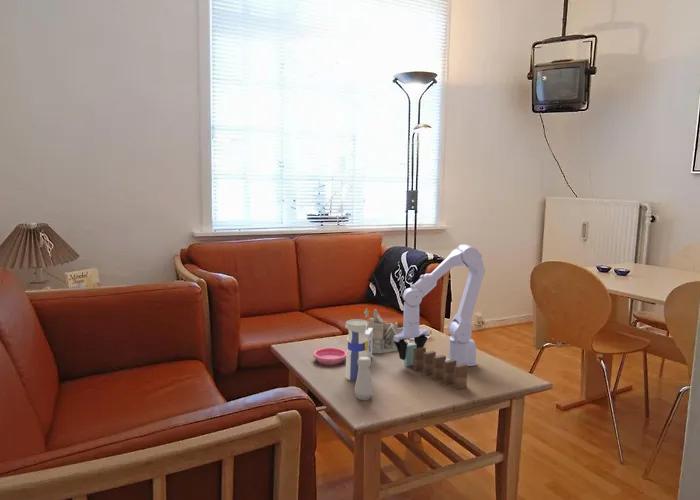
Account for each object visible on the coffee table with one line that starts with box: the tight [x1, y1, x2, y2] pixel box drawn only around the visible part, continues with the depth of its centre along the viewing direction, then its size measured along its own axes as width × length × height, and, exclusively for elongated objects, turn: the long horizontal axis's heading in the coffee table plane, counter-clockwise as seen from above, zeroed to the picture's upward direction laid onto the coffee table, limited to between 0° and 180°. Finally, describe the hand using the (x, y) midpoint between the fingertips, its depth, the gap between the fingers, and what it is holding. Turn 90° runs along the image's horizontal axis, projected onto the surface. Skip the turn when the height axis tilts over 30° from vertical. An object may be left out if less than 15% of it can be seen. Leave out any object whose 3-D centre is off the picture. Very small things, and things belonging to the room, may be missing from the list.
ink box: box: [365, 328, 373, 360], centre depth 199 cm, size 9×5×12 cm, turn 168°
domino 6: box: [453, 363, 469, 391], centre depth 175 cm, size 2×4×8 cm, turn 124°
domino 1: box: [403, 342, 417, 367], centre depth 195 cm, size 2×4×8 cm, turn 125°
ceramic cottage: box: [368, 309, 403, 354], centre depth 214 cm, size 16×16×15 cm
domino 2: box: [412, 346, 427, 372], centre depth 191 cm, size 2×4×8 cm, turn 124°
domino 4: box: [432, 354, 447, 381], centre depth 183 cm, size 2×4×8 cm, turn 124°
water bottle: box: [344, 307, 370, 382], centre depth 182 cm, size 8×9×25 cm
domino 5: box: [442, 359, 457, 385], centre depth 179 cm, size 2×4×8 cm, turn 125°
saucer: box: [313, 347, 347, 366], centre depth 199 cm, size 12×12×3 cm
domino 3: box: [422, 350, 437, 376], centre depth 187 cm, size 2×4×8 cm, turn 125°
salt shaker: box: [354, 357, 374, 401], centre depth 166 cm, size 6×6×13 cm
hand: (410, 357), depth 195 cm, fingers open, 7 cm apart
